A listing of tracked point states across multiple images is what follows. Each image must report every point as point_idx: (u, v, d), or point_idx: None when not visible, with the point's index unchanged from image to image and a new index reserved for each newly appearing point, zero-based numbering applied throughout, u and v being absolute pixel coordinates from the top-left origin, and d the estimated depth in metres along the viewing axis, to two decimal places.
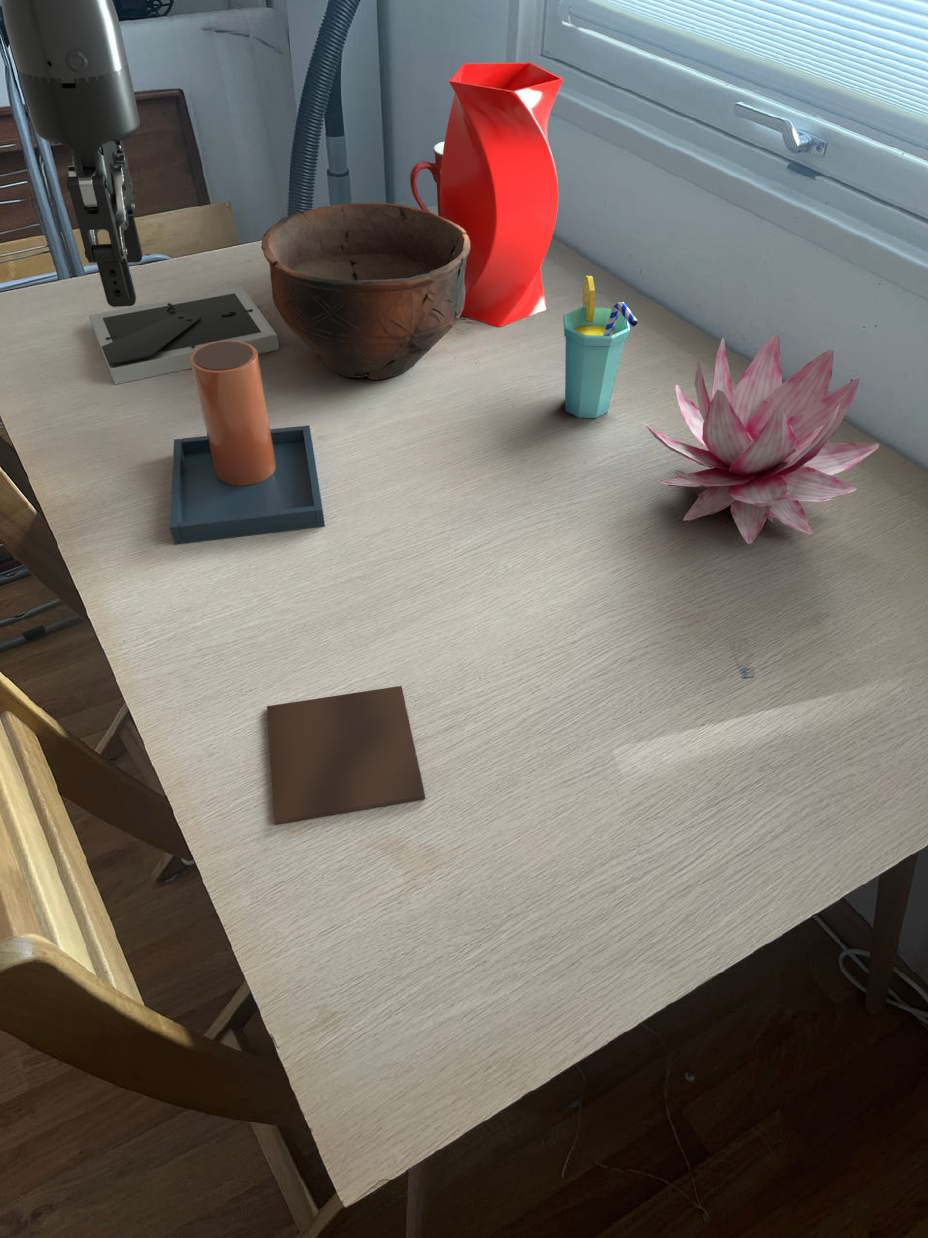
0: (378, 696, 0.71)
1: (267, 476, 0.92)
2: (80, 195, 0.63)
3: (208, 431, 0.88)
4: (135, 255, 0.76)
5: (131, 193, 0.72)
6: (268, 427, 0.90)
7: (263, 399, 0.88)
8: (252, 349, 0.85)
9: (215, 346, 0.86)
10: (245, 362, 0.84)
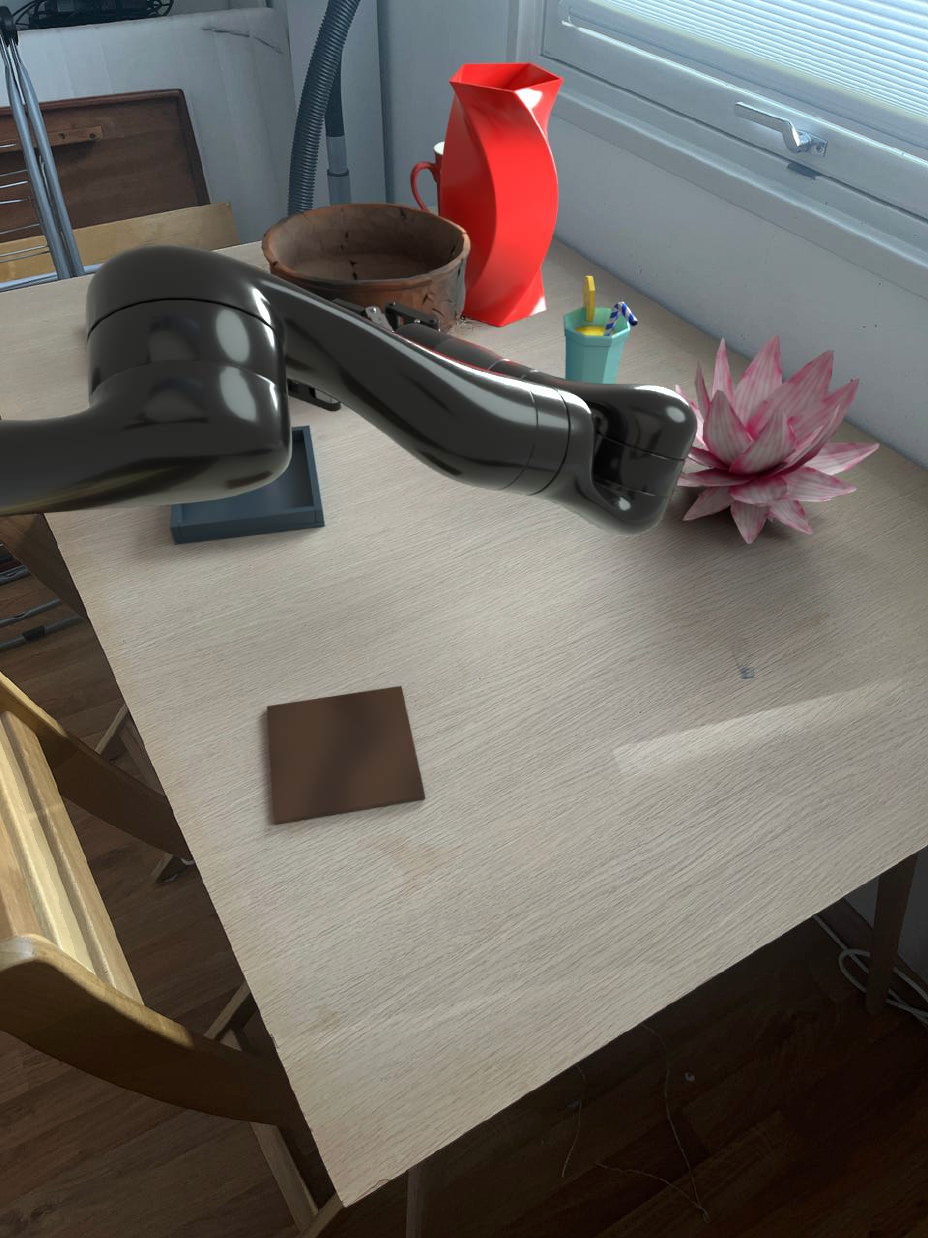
0: (378, 696, 0.71)
1: None
2: None
3: None
4: None
5: None
6: None
7: None
8: None
9: None
10: None
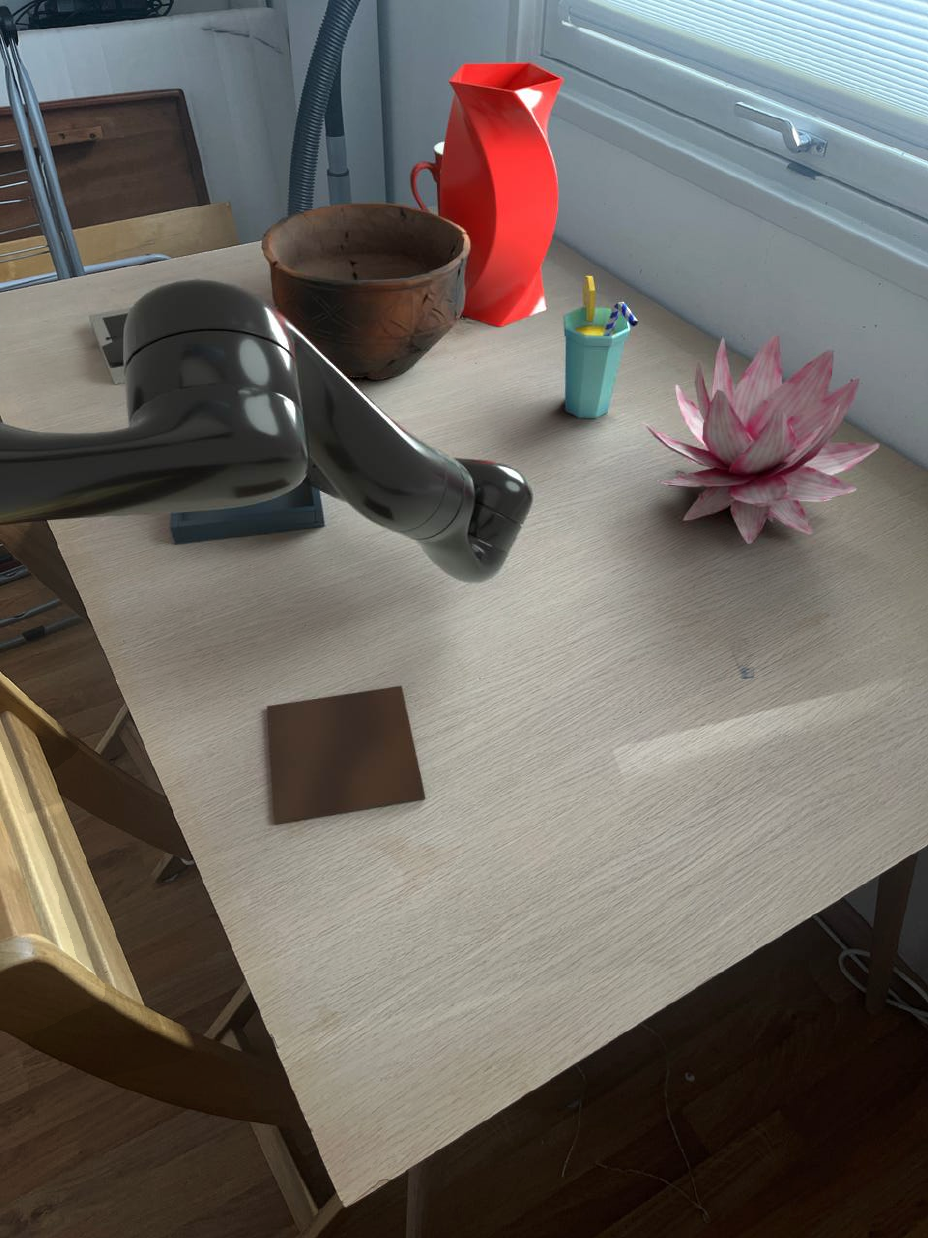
0: (378, 696, 0.71)
1: None
2: None
3: None
4: None
5: None
6: None
7: None
8: None
9: None
10: None
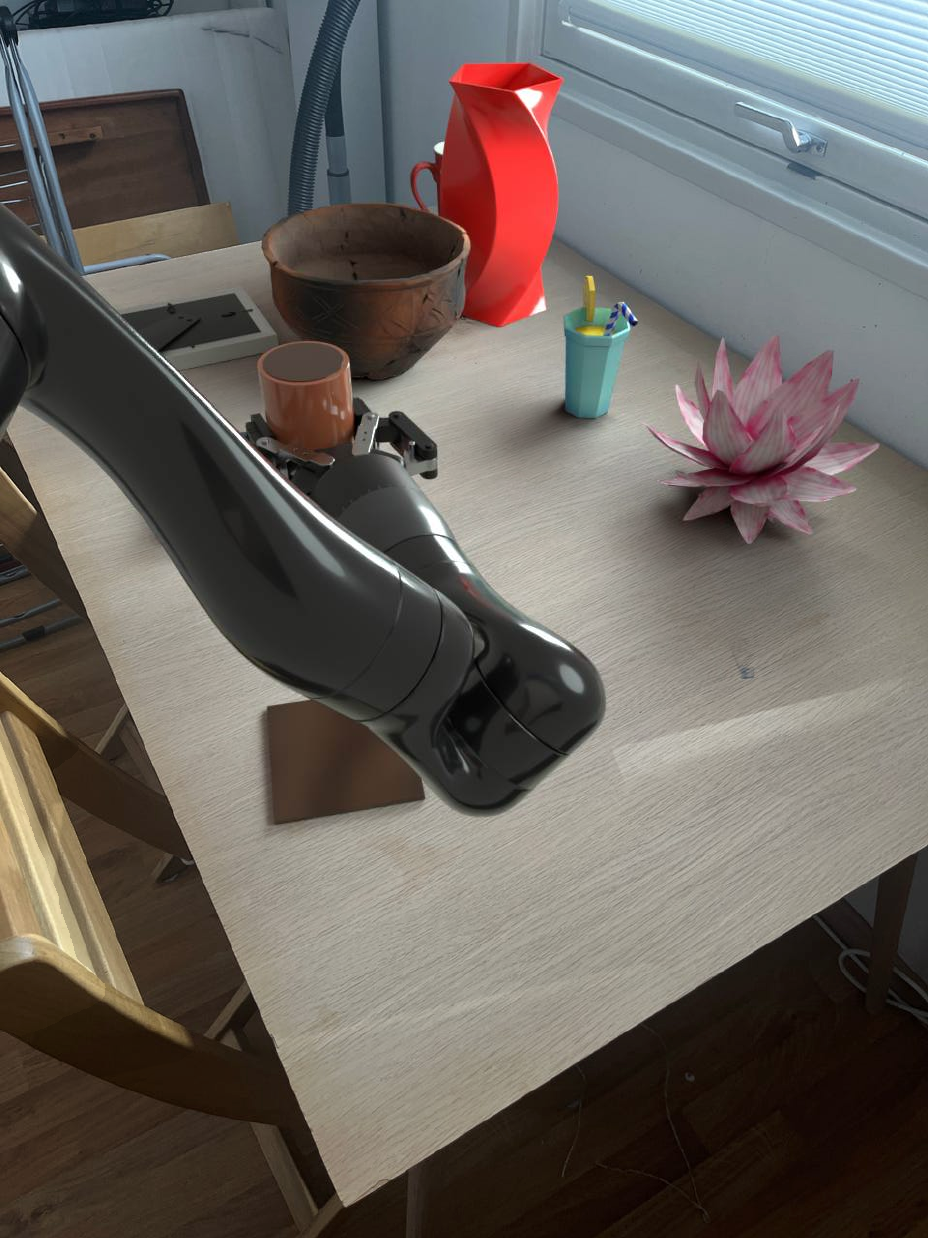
0: None
1: None
2: None
3: None
4: None
5: None
6: None
7: (344, 431, 0.63)
8: (344, 362, 0.61)
9: (304, 347, 0.63)
10: (321, 378, 0.60)
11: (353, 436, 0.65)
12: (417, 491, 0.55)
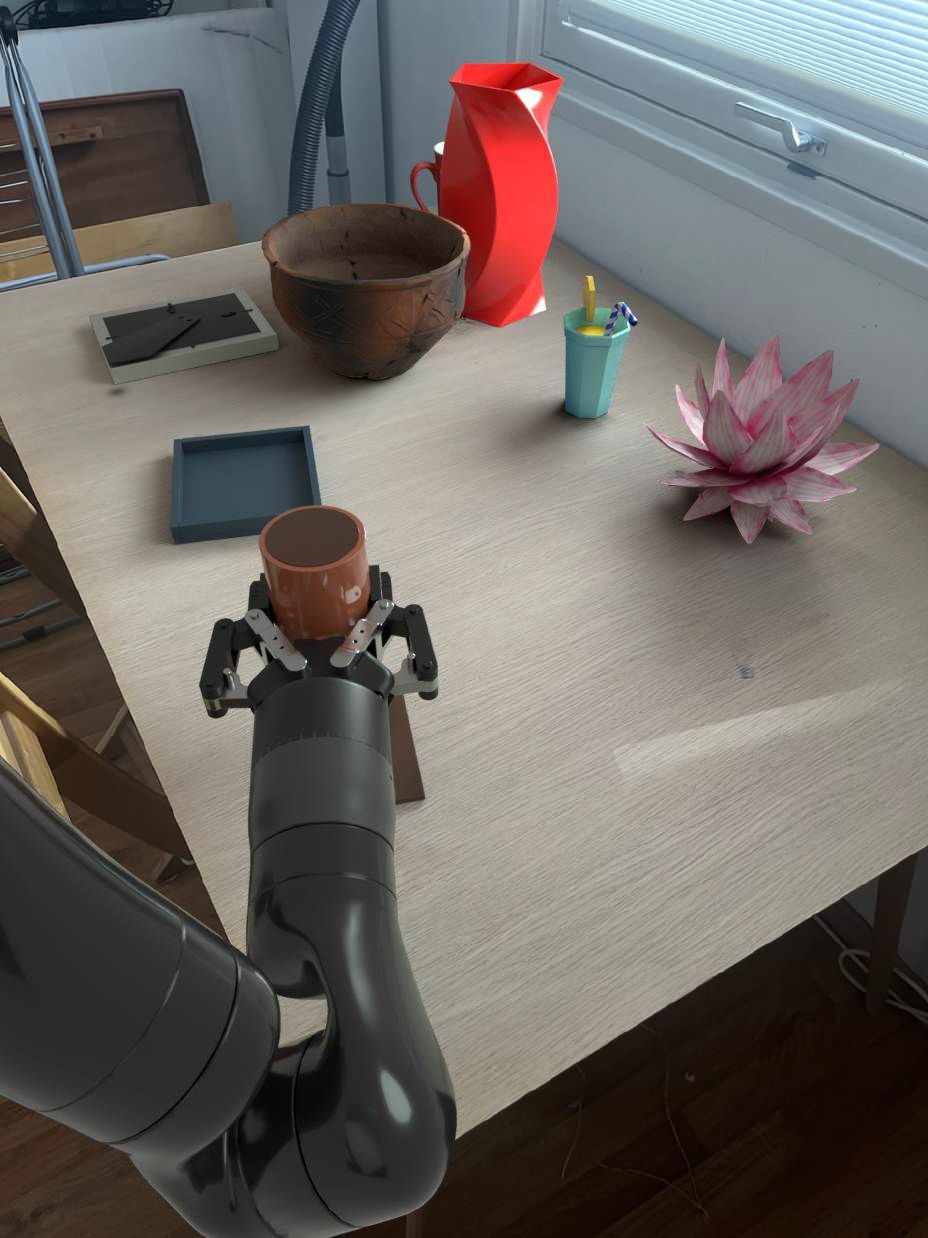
0: None
1: None
2: None
3: None
4: None
5: None
6: None
7: (348, 619, 0.54)
8: (355, 546, 0.52)
9: (324, 515, 0.54)
10: (318, 565, 0.51)
11: None
12: (363, 745, 0.45)
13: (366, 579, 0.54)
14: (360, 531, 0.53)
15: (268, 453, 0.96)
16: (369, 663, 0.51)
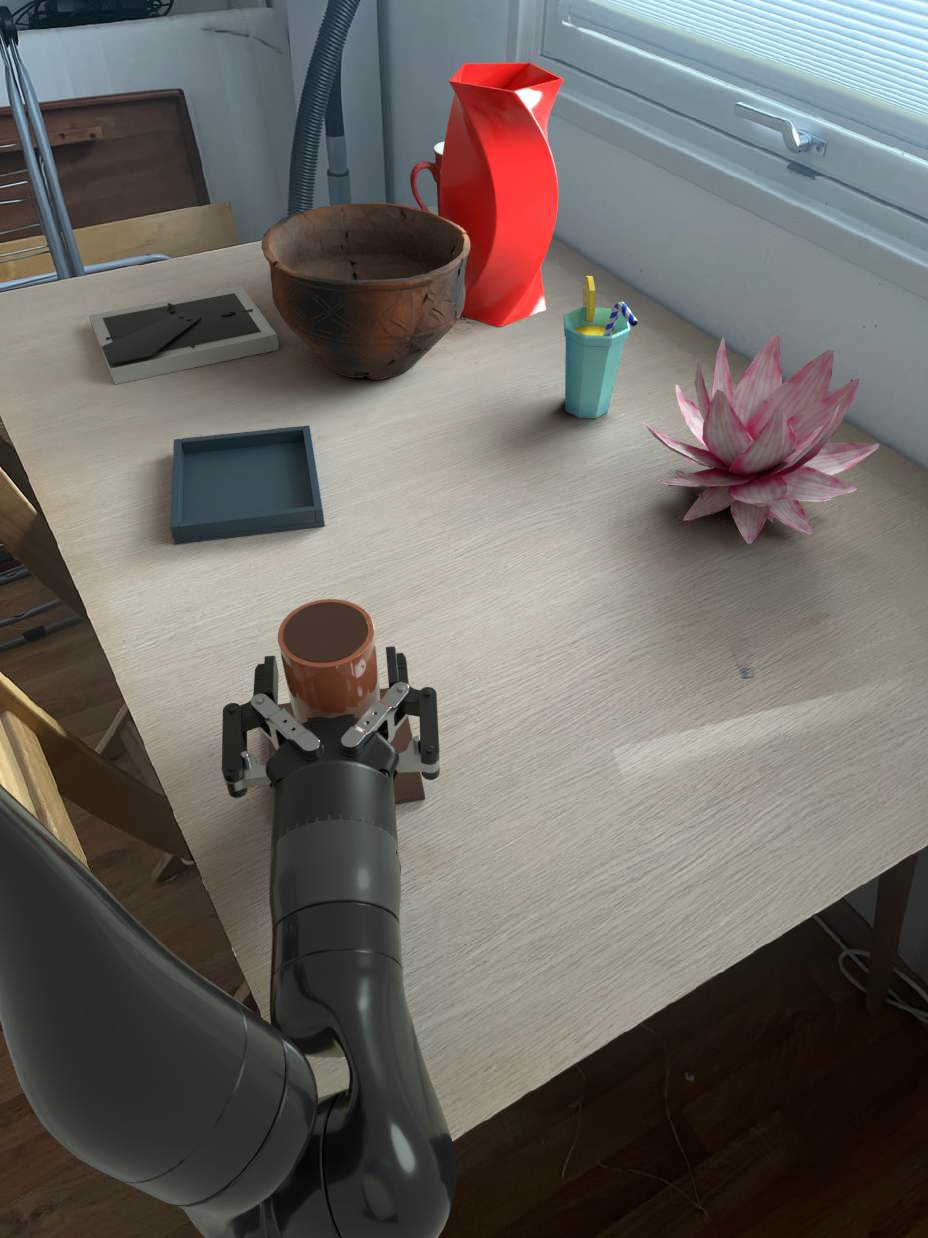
0: None
1: None
2: None
3: None
4: None
5: None
6: None
7: (358, 704, 0.60)
8: (365, 642, 0.58)
9: (336, 610, 0.60)
10: (332, 660, 0.57)
11: (371, 704, 0.61)
12: (372, 826, 0.50)
13: (374, 668, 0.60)
14: (369, 626, 0.59)
15: (268, 453, 0.96)
16: (376, 741, 0.57)
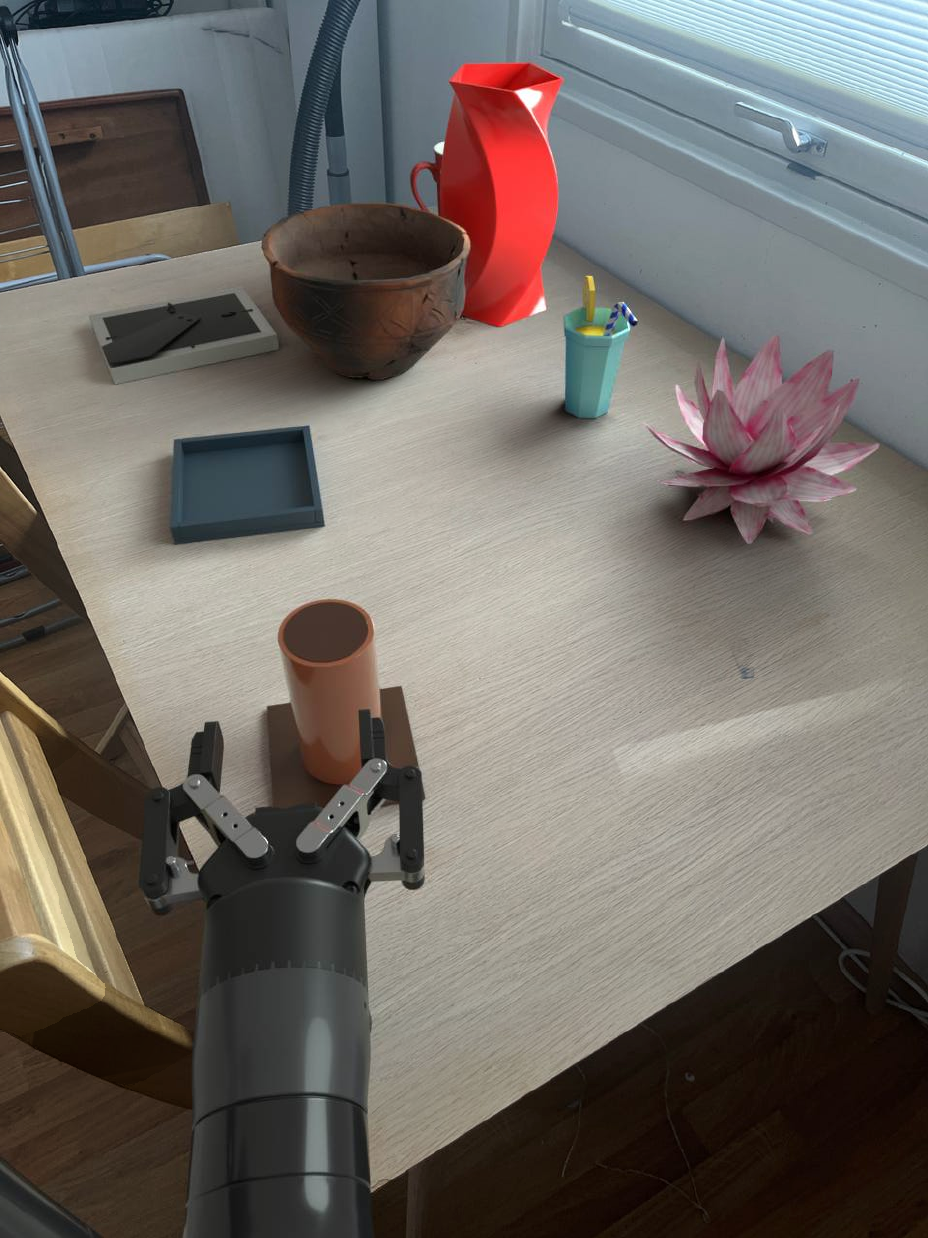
0: None
1: (345, 782, 0.65)
2: None
3: None
4: None
5: None
6: None
7: (358, 704, 0.60)
8: (365, 642, 0.58)
9: (336, 610, 0.60)
10: (332, 660, 0.57)
11: (371, 704, 0.61)
12: (332, 974, 0.37)
13: (374, 668, 0.60)
14: (369, 626, 0.59)
15: (268, 453, 0.96)
16: (342, 842, 0.44)
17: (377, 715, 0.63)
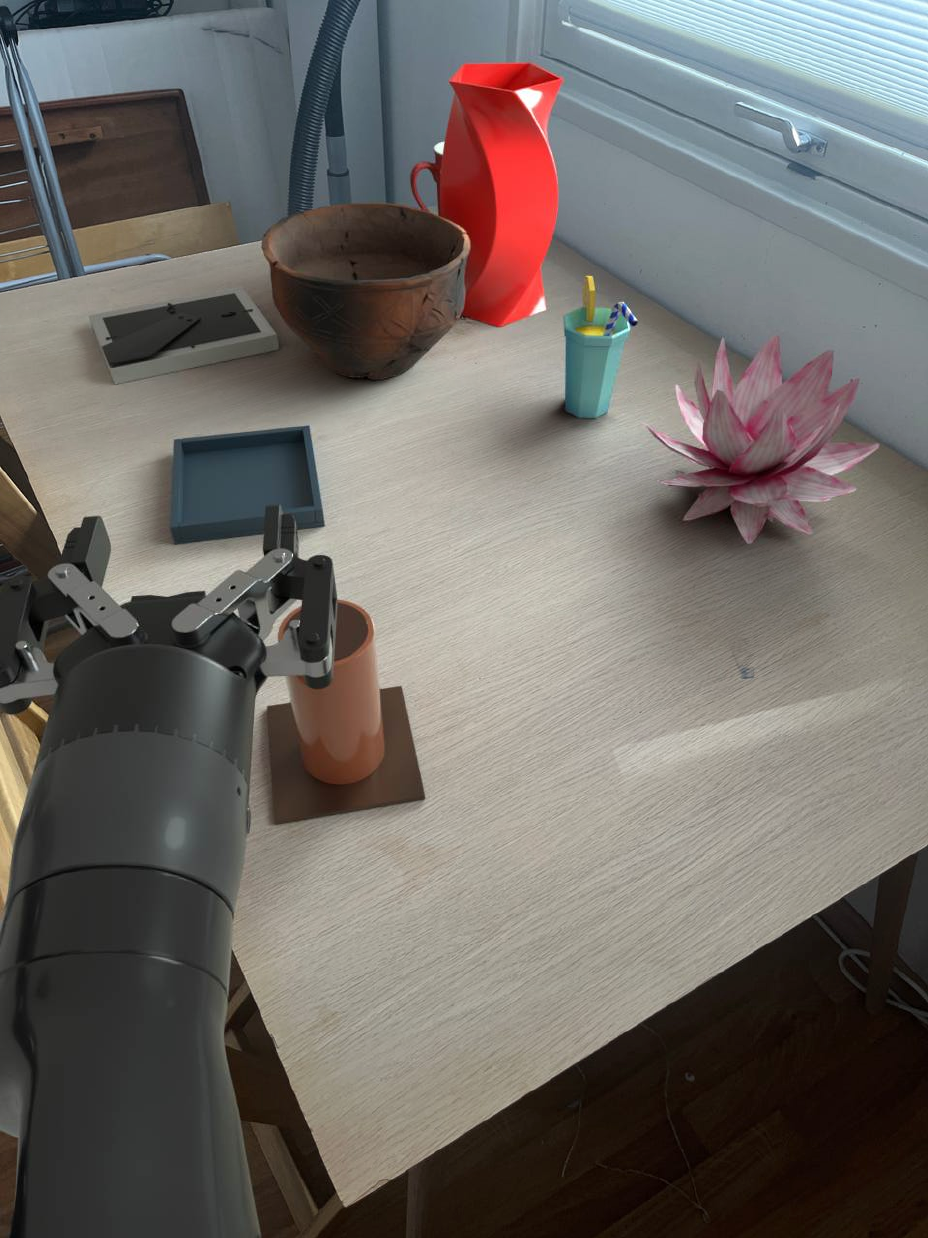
0: None
1: (345, 782, 0.65)
2: None
3: None
4: None
5: None
6: (362, 733, 0.62)
7: (358, 704, 0.60)
8: (365, 642, 0.58)
9: None
10: None
11: (371, 704, 0.61)
12: (193, 744, 0.30)
13: (374, 668, 0.60)
14: (369, 626, 0.59)
15: (268, 453, 0.96)
16: (231, 628, 0.36)
17: (377, 715, 0.63)
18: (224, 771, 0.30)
